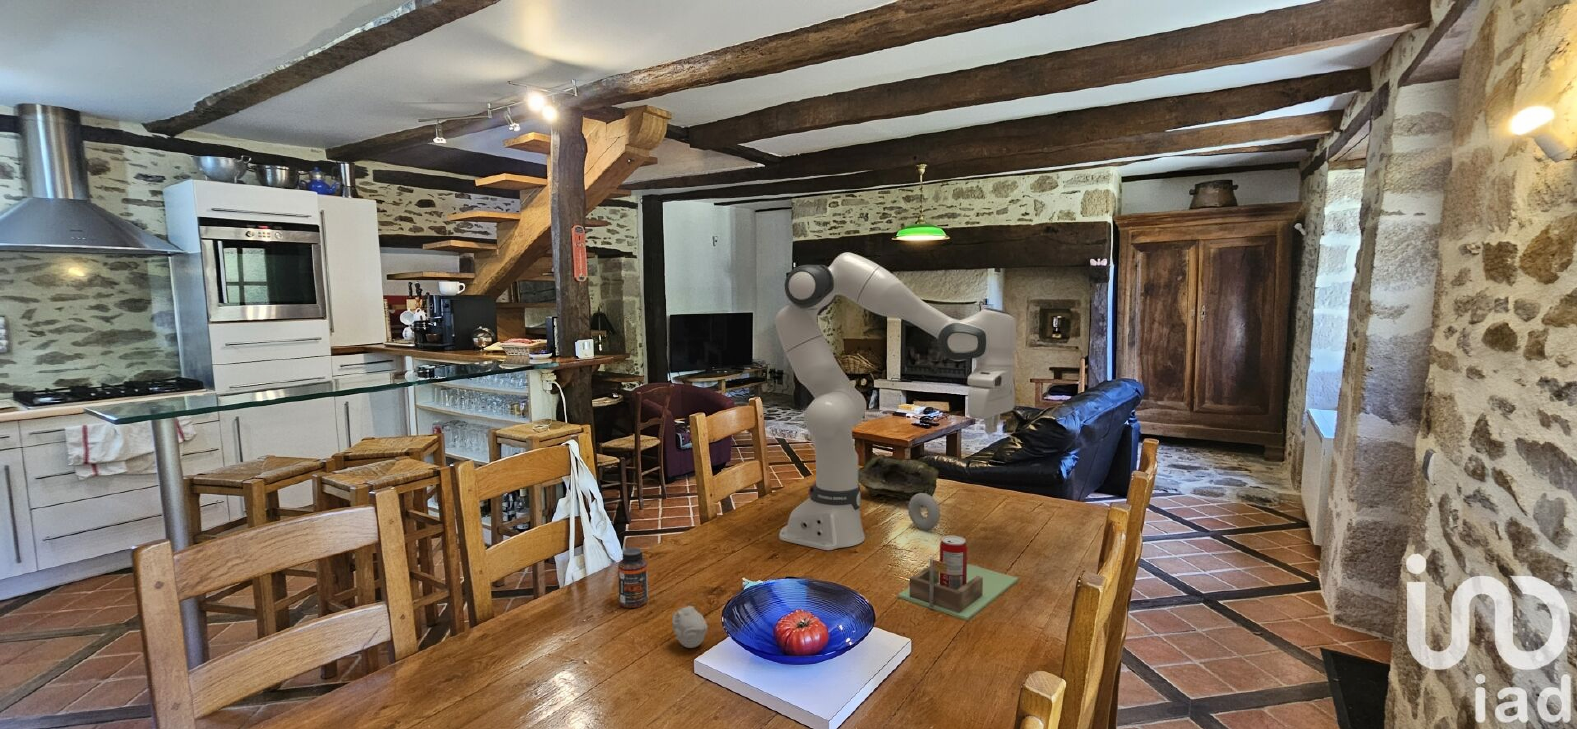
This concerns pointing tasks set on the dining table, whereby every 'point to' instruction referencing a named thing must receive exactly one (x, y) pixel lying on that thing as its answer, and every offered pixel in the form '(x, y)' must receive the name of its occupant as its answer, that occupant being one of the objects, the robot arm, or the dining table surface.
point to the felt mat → (991, 590)
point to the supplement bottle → (632, 579)
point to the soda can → (954, 561)
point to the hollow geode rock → (898, 477)
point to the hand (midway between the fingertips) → (991, 432)
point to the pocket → (943, 589)
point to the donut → (930, 506)
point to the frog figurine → (689, 627)
